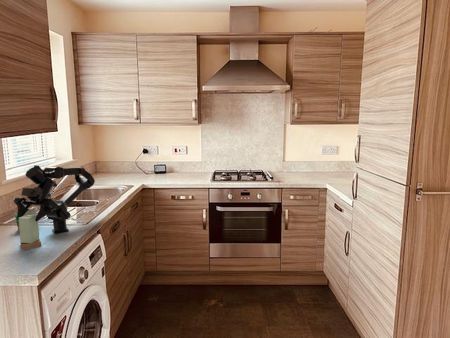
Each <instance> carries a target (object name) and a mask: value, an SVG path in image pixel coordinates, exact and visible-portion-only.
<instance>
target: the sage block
mask: <svg viewBox="0 0 450 338" xmlns="http://www.w3.org/2000/svg"><path fill="white" fill-rule="evenodd" d="M36 216H37V214H36V215H25V216H22V217H19V229H20V230H19V238H20V240H19V242H21V243H33V242H35V241H37V240H39V239H40V229H39V221H37V222H36V221H35V219H36ZM21 243H20V244H21Z"/></svg>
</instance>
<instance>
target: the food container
mask: <svg viewBox="0 0 450 338" xmlns="http://www.w3.org/2000/svg"><path fill="white" fill-rule="evenodd" d="M28 209H29V210H28V211H27V212H26V213H25V214H24V216H25V215H37V211H38V208H37V205H30V207H29V208H28ZM17 213H18V210H17V211H16V210H15V211H13V216H14V217H15V222H16V226H17V230H18V231H20V229H19V221H18V220H17Z"/></svg>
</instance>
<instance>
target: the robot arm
mask: <svg viewBox="0 0 450 338" xmlns="http://www.w3.org/2000/svg"><path fill="white" fill-rule="evenodd" d="M73 175H74V180H75V185H74V186H72V187H71V188H70V190H68V191H67V192H66V193H65V194H64V195H63V196H62V197H61V198H60V199H53V198H50V197H51V194H50V192H51V190H52V189H53V187H58V183H57V181H56V180H59V179H62V178H64V177H65V176H73ZM25 177H26V178H27V179H29V181H31V183H33V184H35V185H37V186H34V187H33V188H32V187H23V188H22V190H21V194H20V195H21V196H24V197H20V196H19V197H15V198H14V200H13V204H15V206H16V207H17V211H18V213H17V220H18V221H19V217H22V216H24V214H25V213H26V212H27V211H28V210H29V209H28V208H30V207H31V205H34V206H39V210H38V212H37V213H36V215H37V216H36V219H35V221H36V222H37V221H38V222H39V221H40V220H41V219H42V218H44V217H45V216H46V217H47V219H48V220H50V221H51V220H52V225H53V229H51V231H52V233H53V234H61V233H64V232H68V231H70V229H69V227H67V220H69V219H70V218H71V213H70V212H69V211H68V207H69V206H70V205H71V204H72V203H73V201H75V199H76V198H78V196H80V195H81V193H83V191H87V190H88V189H90V188H92V187H93V186H94V184H95V181H96V180H95V178H94V177H93V175H92V173H90V172H88V171H87V170H86V169H85V167H82V166H74V167H61V166H45V167H44V168H43V169H42V167H41V166H40V165H37V164H36V165H35V164H34V166H33V167H30V168H29V169H28V170H27V171H26V172H25ZM53 179H54V180H53ZM25 197H26V198H25Z"/></svg>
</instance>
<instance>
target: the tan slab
mask: <svg viewBox="0 0 450 338" xmlns="http://www.w3.org/2000/svg"><path fill="white" fill-rule="evenodd" d="M19 242H20V241H19ZM41 246H42V241H41V239H40V238H39V240H37V241H35V242H33V243H21V242H20V247H21V249H22V251H25V250H28V249H29V250H30V249H35V248H37V247H41Z"/></svg>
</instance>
